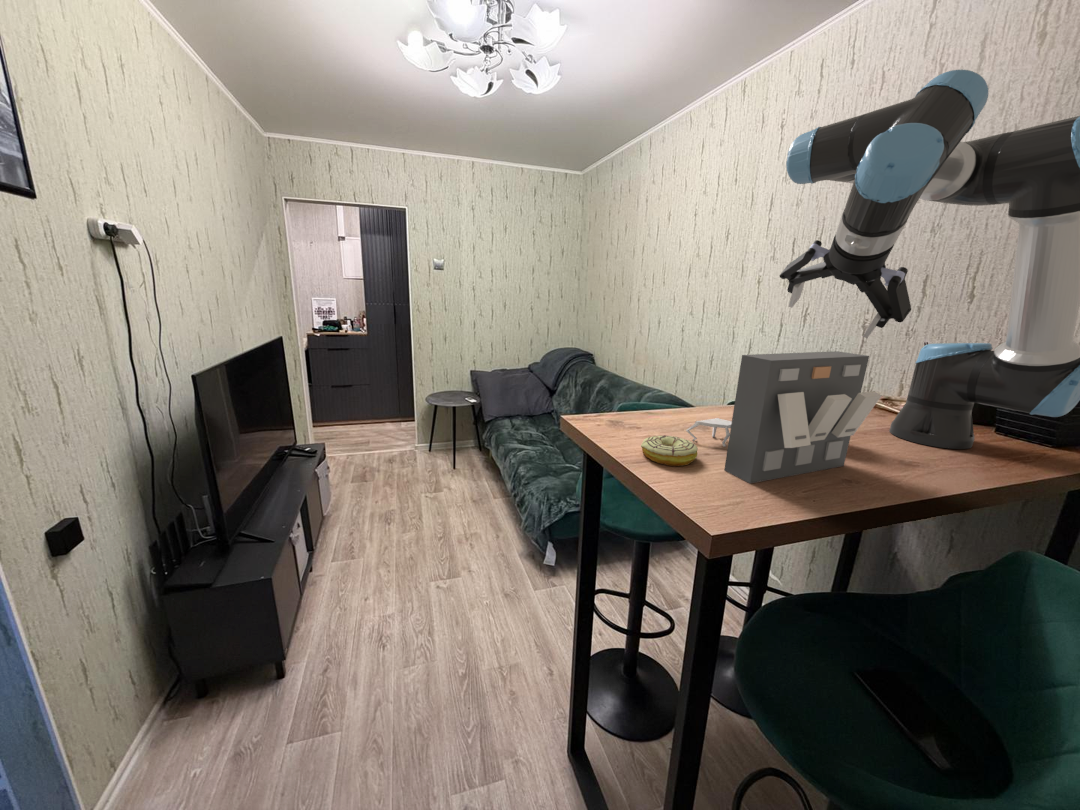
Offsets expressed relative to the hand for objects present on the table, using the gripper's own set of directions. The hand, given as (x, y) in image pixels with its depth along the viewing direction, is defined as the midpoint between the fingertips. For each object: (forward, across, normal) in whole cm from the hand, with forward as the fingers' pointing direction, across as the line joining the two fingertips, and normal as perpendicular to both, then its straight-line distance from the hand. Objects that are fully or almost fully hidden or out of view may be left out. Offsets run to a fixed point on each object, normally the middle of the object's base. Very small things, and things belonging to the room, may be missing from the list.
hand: (830, 316), depth 81 cm
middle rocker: (+4, +10, -21) cm, 24 cm away
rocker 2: (+9, +13, -16) cm, 22 cm away
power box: (+10, +9, -27) cm, 30 cm away
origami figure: (+18, -6, -28) cm, 34 cm away
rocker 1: (-3, +9, -26) cm, 28 cm away
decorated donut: (+6, -9, -39) cm, 40 cm away
